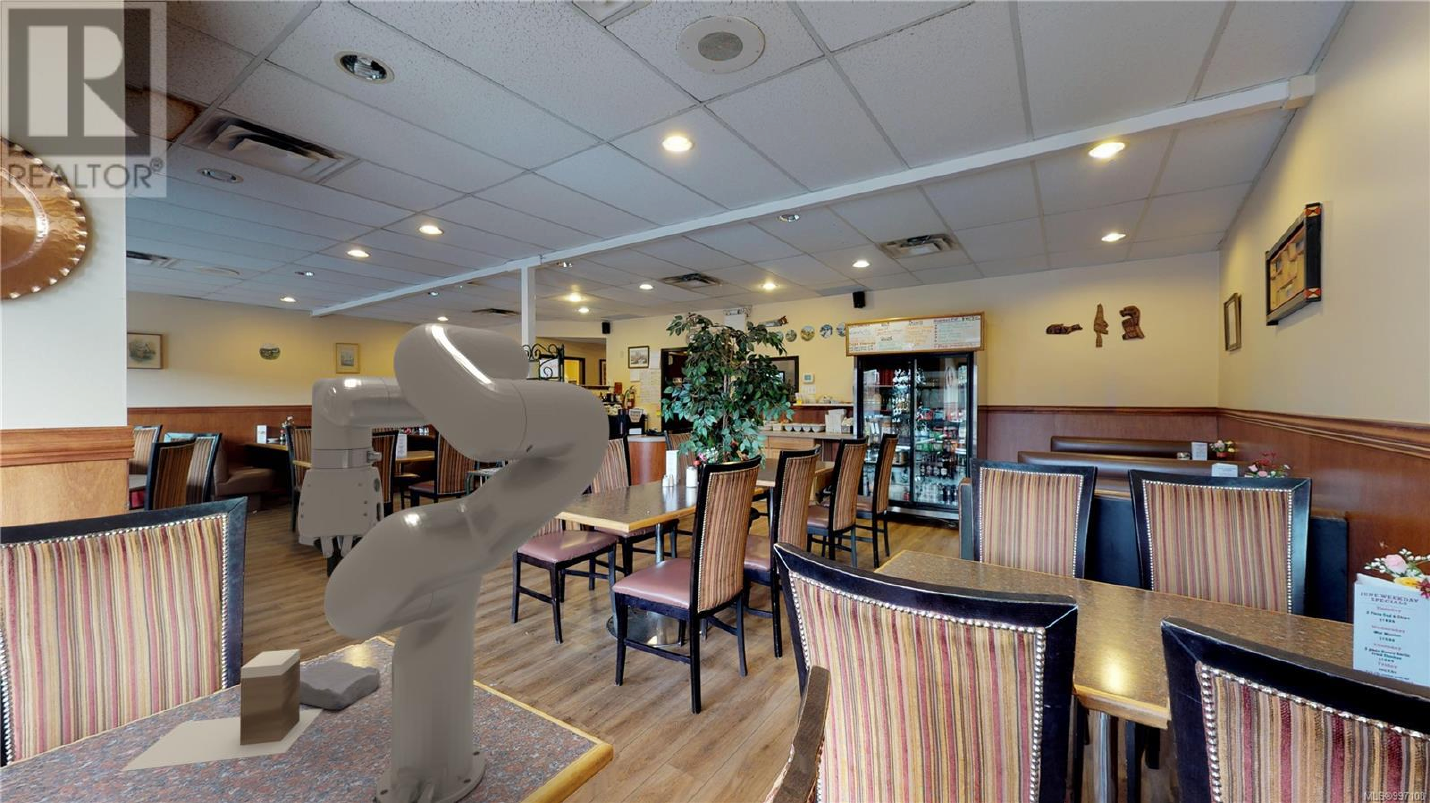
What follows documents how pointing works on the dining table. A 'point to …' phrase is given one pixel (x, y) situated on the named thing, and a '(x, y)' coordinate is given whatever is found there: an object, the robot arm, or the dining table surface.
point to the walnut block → (270, 696)
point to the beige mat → (213, 743)
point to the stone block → (336, 684)
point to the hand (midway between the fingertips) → (340, 580)
